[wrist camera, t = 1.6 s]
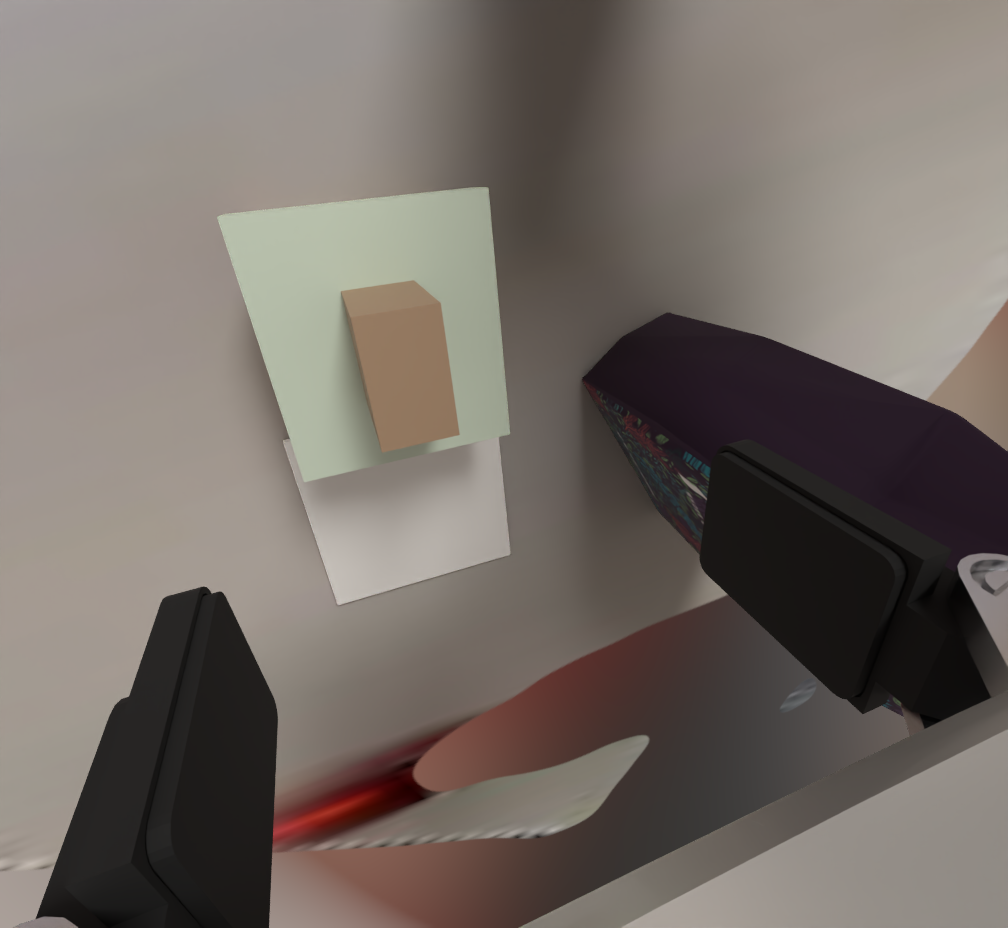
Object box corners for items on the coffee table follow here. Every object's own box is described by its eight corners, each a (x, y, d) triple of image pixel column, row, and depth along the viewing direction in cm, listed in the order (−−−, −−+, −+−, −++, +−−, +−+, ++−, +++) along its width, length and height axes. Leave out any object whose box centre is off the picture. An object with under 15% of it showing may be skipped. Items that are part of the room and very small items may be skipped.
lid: (224, 214, 20) (192, 226, 14) (473, 187, 23) (534, 187, 17) (303, 461, 26) (304, 544, 20) (496, 418, 28) (549, 480, 22)
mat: (283, 440, 30) (283, 442, 30) (492, 395, 34) (494, 397, 33) (337, 601, 37) (337, 605, 37) (508, 551, 40) (510, 554, 40)
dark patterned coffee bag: (656, 519, 44) (1058, 898, 21) (570, 374, 35) (1115, 759, 11) (733, 460, 44) (1227, 774, 20) (667, 299, 35) (1421, 534, 11)
